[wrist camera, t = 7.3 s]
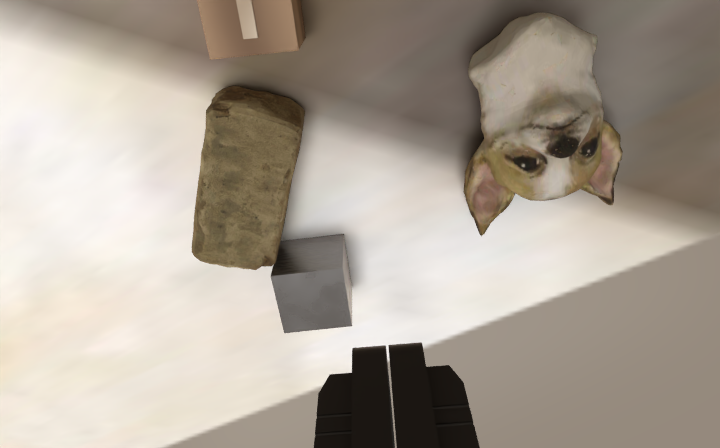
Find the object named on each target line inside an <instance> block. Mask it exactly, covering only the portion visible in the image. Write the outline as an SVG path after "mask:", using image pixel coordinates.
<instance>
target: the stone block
mask: <svg viewBox="0 0 720 448" xmlns="http://www.w3.org/2000/svg"><path fill="white" fill-rule="evenodd" d="M304 114H305V111H304V110H303V109H302V107H301V106H299V105H298V104H297V103H296V102H294V101H293V100H292V99H290V98H287V97H282V96H279V95H273V94H271V93H269V92H265V91H253V90H249V89H245V88H243V87H239V86H231V87H227V88H224V89H222V90H220V91H219V92H218V93H216V95H215V97H214V98H213V99H212V103H211V105H210V106H209V107H208V109H207V110H206V130H205V138H204V144H203V149H202V153H201V166H200V174H199V181H198V189H197V197H196V206H195V215H194V232H193V240H192V253H193V255H194V256H195V257H196V258H197V259H199V260H200V261H203V262H205V263H209V264H217V265H221V266H224V267H239V268H243V269H253V270H257V269H258V268H260V267H261V266H272V265H273V264H274V263H275V262H276V258H277V254H278V249H279V245H280V240H281V235H282V231H283V226H284V221H285V215H286V210H287V204H288V198H289V192H290V186H291V181H292V176H293V172H294V168H295V165H296V161H297V157H298V153H299V148H300V143H301V136H302V130H303V121H304Z"/></svg>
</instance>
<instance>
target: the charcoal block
mask: <svg viewBox="0 0 720 448" xmlns="http://www.w3.org/2000/svg"><path fill="white" fill-rule="evenodd" d="M271 279H272V283H273V288H274V292H275V296H276V300H277V304H278V309H279V313H280V317H281V321H282V325H283V330H284V333H290V332H300V331H309V330H319V329H328V328H338V327H347V326H352V284H351V278H350V272H349V265H348V259H347V252H346V246H345V239H344V234H339V235H330V236H321V237H313V238H304V239H295V240H286V241H280V245H279V249H278V254H277V258H276V262H275V263H274V265H273V269H272V273H271Z"/></svg>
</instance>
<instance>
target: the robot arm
mask: <svg viewBox="0 0 720 448" xmlns="http://www.w3.org/2000/svg"><path fill="white" fill-rule="evenodd" d="M389 356H390V367H391V380H392V393H393V406H394V418H395V430H396V442H397V448H480V447H479V443H478V440H477V435H476V431H475V427H474V425H473V419H472V415H471V411H470V408H469V403H468V399H467V395H466V391H465V387H464V383H463V381H462V380H461V379H460V378H459V377H458V375H457V374H456V373H455V372H454V371H453V370H452V368H451V367H450V366H449V365H446V366H433V367H426V364H425V358H424V352H423V346H422V343H409V344H396V345H389ZM315 435H316V436H315V441H314V448H395V444H394V432H393V419H392V407H391V396H390V386H389V375H388V364H387V354H386V346H373V347H360V348H353V350H352V373H344V374H331V375H329V377H328V379H327V380H326V382H325V384H324V385H323V387H322V389H321V391H320V392H319V395H318V406H317V419H316V430H315Z"/></svg>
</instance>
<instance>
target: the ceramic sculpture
mask: <svg viewBox="0 0 720 448" xmlns="http://www.w3.org/2000/svg"><path fill="white" fill-rule="evenodd" d="M596 44H597V36H596V35H594V34H590V33H588V32H586V31H584V30H582V29H580V28H578V27H576V26H574V25H572V24H571V23H569V22H568V21H566V20H565V19H564V18H562V17H560V16H557V15H554V14H551V13H534V14H531V15H529V16H524V17H519V18H517V19H515V20H513V21H511V22H510V23H509V24H508V25H507V26H506V27H505V28H504V30H503V31H502V32H501V34H500V35H498V36H497V37H496V38H495V39H493V40H492V41H490V42H489V43H488V44H486V45H485V46H483V47H482V48H481V49H480V50H478V51H477V52H476V53H475V54H474V55H473V56H472V58H471V61H470V63H469V69H468V74H469V78H470V79H471V80H472V82H473V84H474V86H475V87H476V88H477V90H478V92H479V98H480V103H481V112H482V115H481V119H480V121H481V124H482V125H481V129H482V132H483V134H484V140H483V142H482V144H481V145H480V146H479V148H478V149H477V150H476V152H475V153H474V155H473V156H472V158H471V160H470V162H469V164H468V166H467V169H466V172H465V183H464V194H465V197H466V201H467V204H468V207H469V210H470V213H471V215H472V217H473V218H474V220H475V223H476V226H477V228H478V231H479V233H480V235H481V236H482V235H483V234H484V233H485V232H486V230H487V228H488V227H489V225H490V223H491V222H492V221H493V220H494V219H495V218H496V217H497V216H498V215H499V214H500V213H502V212H503V211H504V210H505V209H506V208H507V207H508V206H509V204H510V203H511V201H512V199H513V197H514V195H515V193H516V194H518V195H520V196H521V197H524V198H526V199H528V200H536V201H545V200H552V199H557V198H561V197H564V196H567V195H569V194H571V193H573V192H575V191H577V190H579V189H582V190H584V191H586V192H588V193H591V194H593V195H596V196H598V197H599V198H600V199H601V200H602V201H604V202H605V203H606V204H608V205H613V202H614V188H613V185H614V181H615V177H616V174H617V171H618V168H619V161H621V157H622V153H623V151H622V149H621V147H620V135H619V134H618V132H617V131H616V130H615V129H614V128H613V127H612V125H611V124H609V123H608V122H606V121H605V120H603V114H604V111H603V106H602V99H601V91H600V90H599V88H598V87H597V83H596V80H595V77H594V75H593V73H592V66H593V55H594V53H595V51H596Z"/></svg>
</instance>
